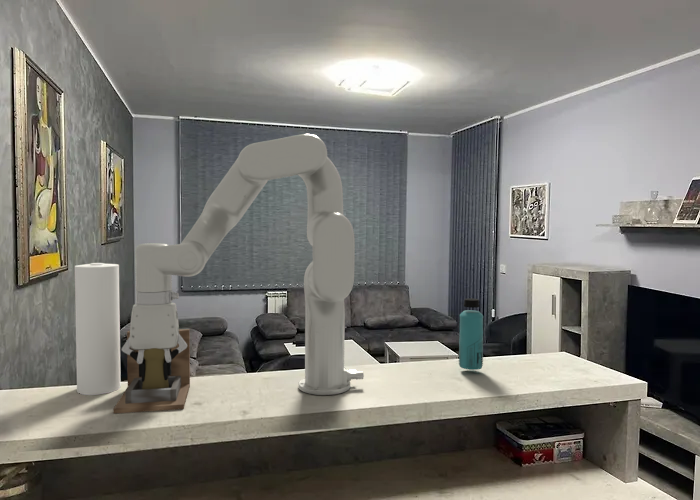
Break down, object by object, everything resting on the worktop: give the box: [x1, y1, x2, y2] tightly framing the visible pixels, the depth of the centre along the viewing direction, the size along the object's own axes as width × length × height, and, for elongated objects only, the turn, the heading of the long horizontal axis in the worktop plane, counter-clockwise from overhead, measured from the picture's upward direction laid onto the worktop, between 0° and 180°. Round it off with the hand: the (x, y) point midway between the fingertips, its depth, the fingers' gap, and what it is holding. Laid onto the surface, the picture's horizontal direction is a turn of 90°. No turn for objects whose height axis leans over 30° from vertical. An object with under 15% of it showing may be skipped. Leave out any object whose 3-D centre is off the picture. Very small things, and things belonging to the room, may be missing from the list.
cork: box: [142, 348, 169, 389], centre depth 119 cm, size 6×6×11 cm
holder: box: [112, 328, 191, 414], centre depth 119 cm, size 14×16×14 cm
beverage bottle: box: [458, 298, 484, 371], centre depth 142 cm, size 6×7×20 cm
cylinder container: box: [74, 262, 122, 396], centre depth 125 cm, size 9×9×30 cm
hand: (155, 378), depth 119 cm, fingers closed on cork, 4 cm apart
